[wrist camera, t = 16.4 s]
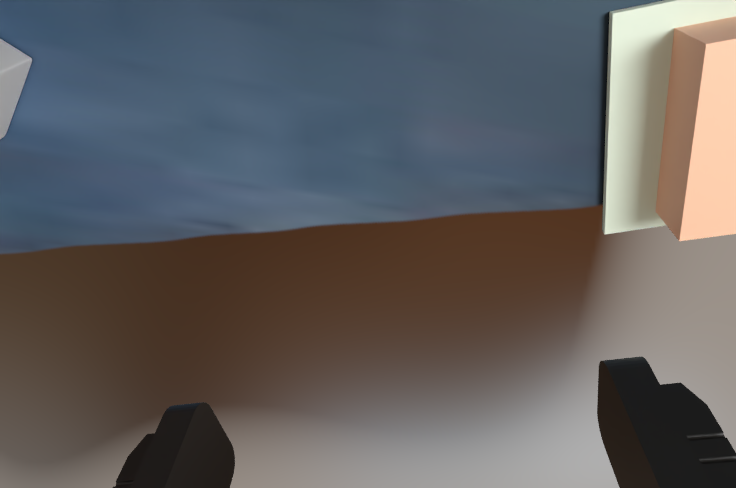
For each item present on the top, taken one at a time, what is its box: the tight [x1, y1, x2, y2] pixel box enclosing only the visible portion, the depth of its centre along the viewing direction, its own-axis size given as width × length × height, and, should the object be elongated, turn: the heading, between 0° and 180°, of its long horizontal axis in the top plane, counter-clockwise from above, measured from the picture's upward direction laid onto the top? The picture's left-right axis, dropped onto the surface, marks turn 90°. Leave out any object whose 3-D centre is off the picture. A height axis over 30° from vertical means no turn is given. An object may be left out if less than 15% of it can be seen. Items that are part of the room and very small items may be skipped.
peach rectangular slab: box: [656, 16, 736, 241], centre depth 33 cm, size 13×5×4 cm, turn 12°
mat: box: [602, 0, 736, 234], centre depth 35 cm, size 16×12×1 cm
